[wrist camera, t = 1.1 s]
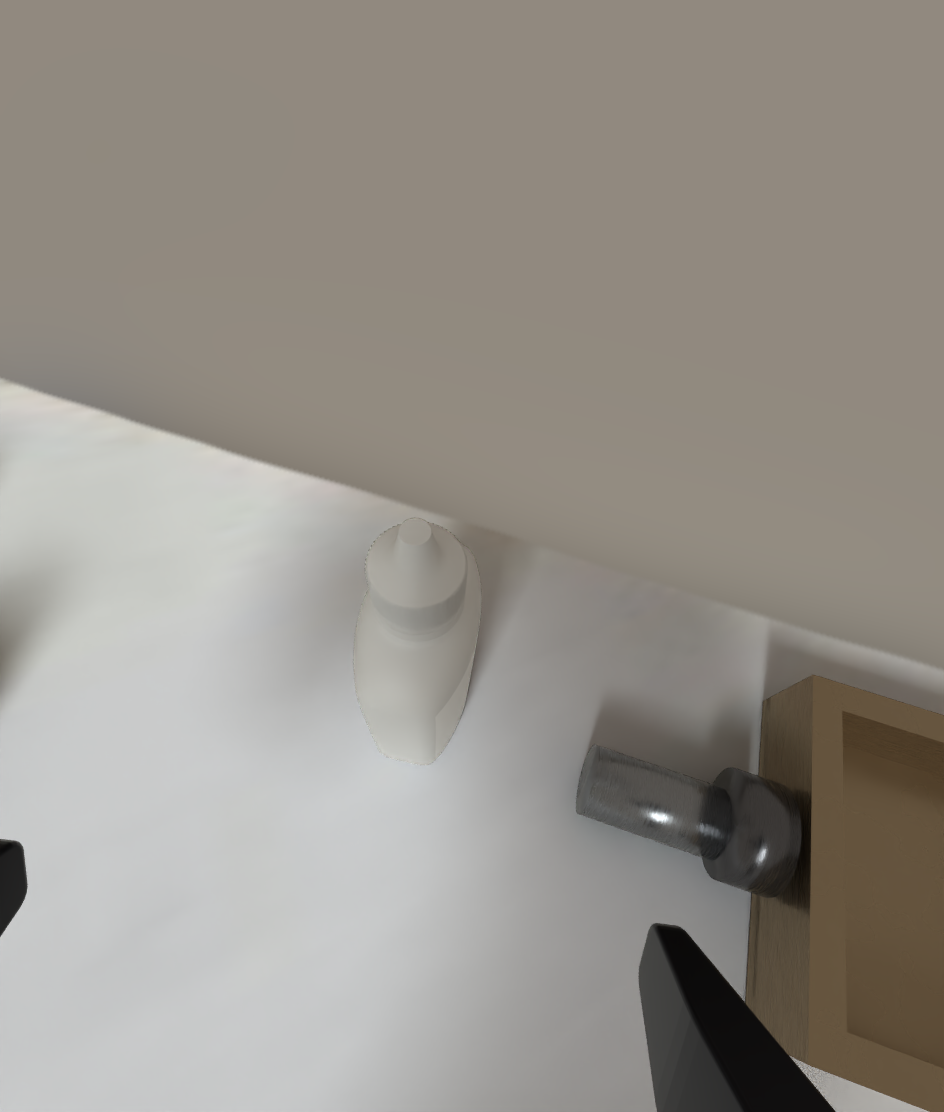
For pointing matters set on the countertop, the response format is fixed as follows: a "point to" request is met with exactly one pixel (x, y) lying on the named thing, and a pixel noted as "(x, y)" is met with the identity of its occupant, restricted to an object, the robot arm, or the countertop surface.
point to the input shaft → (699, 817)
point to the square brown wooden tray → (856, 891)
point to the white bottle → (416, 639)
